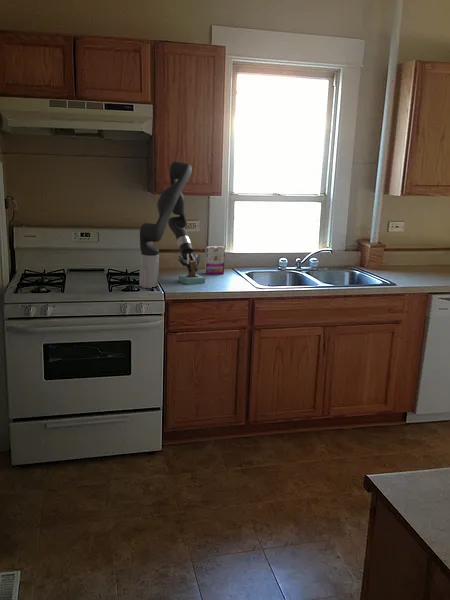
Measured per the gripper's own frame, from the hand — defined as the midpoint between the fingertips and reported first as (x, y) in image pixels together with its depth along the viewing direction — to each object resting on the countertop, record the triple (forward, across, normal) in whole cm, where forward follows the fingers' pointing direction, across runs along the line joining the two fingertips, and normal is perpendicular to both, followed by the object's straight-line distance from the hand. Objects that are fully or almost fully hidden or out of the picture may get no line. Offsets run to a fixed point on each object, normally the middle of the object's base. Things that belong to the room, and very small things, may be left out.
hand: (193, 271), depth 313 cm
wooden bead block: (+3, 0, +6) cm, 7 cm away
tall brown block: (+2, 0, +5) cm, 5 cm away
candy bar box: (-9, +23, +18) cm, 31 cm away
